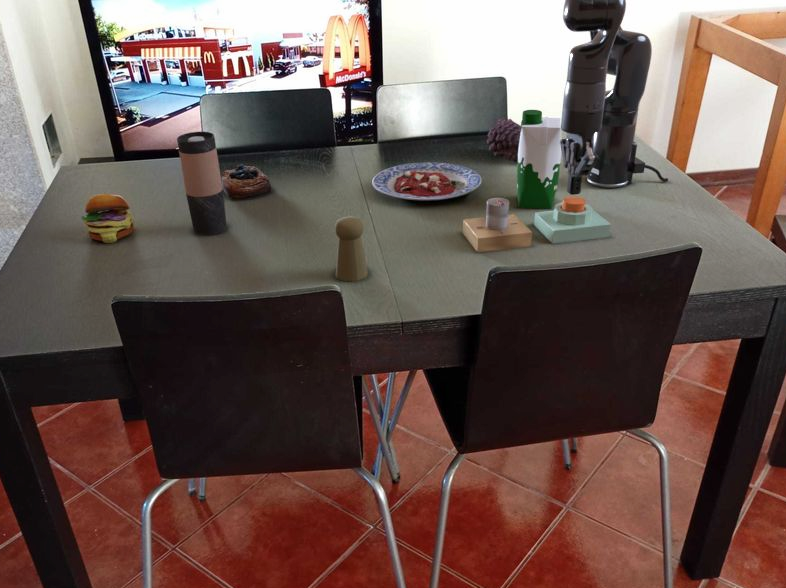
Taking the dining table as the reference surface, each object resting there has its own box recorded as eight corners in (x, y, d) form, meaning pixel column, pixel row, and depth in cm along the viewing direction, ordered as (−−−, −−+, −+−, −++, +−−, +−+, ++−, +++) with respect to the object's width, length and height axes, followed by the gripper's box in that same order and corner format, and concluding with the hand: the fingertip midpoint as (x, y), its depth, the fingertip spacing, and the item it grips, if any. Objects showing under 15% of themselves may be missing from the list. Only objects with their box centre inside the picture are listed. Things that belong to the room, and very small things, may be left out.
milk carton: (515, 195, 174) (521, 106, 164) (556, 196, 173) (564, 107, 162) (514, 209, 167) (520, 117, 157) (556, 210, 165) (565, 118, 155)
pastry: (260, 179, 190) (258, 156, 187) (276, 194, 181) (274, 170, 178) (218, 187, 187) (214, 164, 183) (232, 202, 177) (228, 178, 174)
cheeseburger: (84, 247, 158) (73, 198, 155) (92, 239, 168) (82, 194, 165) (134, 241, 159) (124, 192, 156) (139, 233, 169) (130, 188, 166)
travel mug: (234, 223, 166) (221, 132, 155) (217, 237, 160) (202, 143, 149) (203, 220, 168) (188, 130, 158) (185, 234, 162) (169, 140, 152)
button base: (587, 219, 161) (590, 196, 158) (609, 237, 152) (612, 213, 150) (534, 225, 159) (535, 202, 156) (552, 243, 151) (554, 220, 148)
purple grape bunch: (546, 161, 194) (536, 133, 186) (513, 183, 195) (501, 156, 187) (513, 126, 205) (503, 99, 197) (482, 147, 206) (470, 121, 198)
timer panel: (513, 227, 158) (514, 213, 157) (530, 246, 150) (532, 231, 148) (462, 233, 157) (463, 218, 155) (477, 252, 148) (478, 237, 147)
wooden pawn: (334, 268, 145) (331, 213, 139) (366, 266, 145) (364, 211, 139) (336, 282, 140) (332, 226, 134) (369, 280, 140) (366, 224, 134)
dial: (482, 223, 153) (483, 197, 150) (502, 220, 154) (503, 195, 151) (491, 231, 150) (492, 205, 147) (511, 227, 150) (513, 202, 148)
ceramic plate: (355, 201, 175) (355, 189, 173) (394, 167, 195) (394, 155, 193) (463, 213, 166) (464, 200, 164) (493, 176, 186) (493, 164, 184)
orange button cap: (578, 204, 155) (579, 195, 154) (588, 212, 152) (589, 202, 151) (558, 207, 155) (559, 197, 154) (567, 214, 151) (568, 205, 150)
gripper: (550, 98, 148) (543, 184, 157) (579, 115, 136) (569, 206, 145) (587, 95, 149) (577, 180, 158) (618, 111, 137) (605, 203, 146)
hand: (573, 193), depth 151 cm, fingers closed
